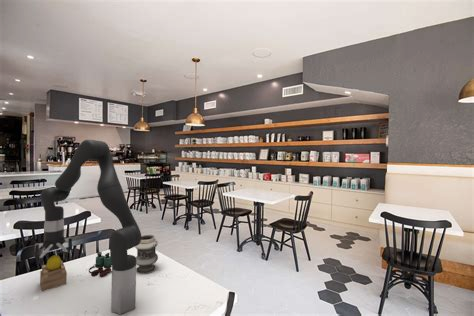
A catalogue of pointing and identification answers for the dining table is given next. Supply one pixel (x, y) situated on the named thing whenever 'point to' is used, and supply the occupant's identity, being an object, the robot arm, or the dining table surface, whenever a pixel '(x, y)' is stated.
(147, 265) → the apothecary jar
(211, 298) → the dining table surface
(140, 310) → the dining table surface
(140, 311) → the dining table surface
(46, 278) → the wooden crate
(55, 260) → the lemon
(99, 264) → the binoculars
